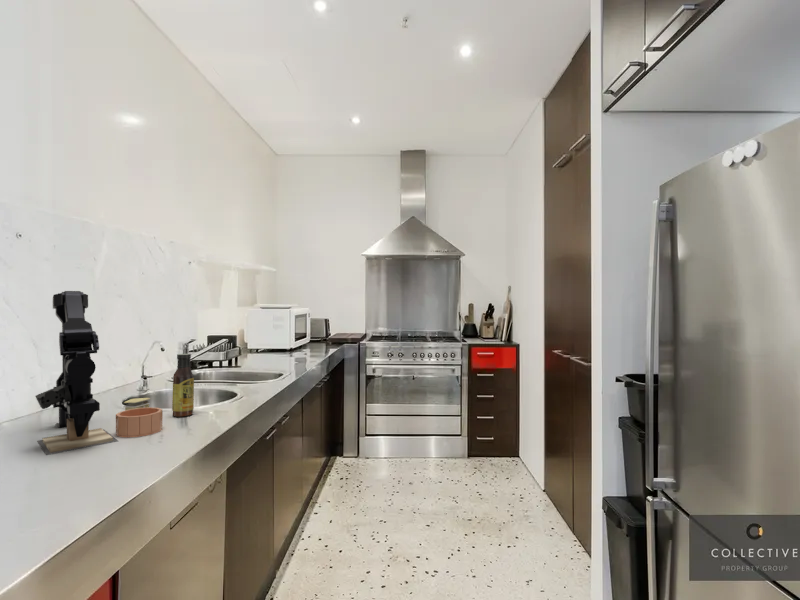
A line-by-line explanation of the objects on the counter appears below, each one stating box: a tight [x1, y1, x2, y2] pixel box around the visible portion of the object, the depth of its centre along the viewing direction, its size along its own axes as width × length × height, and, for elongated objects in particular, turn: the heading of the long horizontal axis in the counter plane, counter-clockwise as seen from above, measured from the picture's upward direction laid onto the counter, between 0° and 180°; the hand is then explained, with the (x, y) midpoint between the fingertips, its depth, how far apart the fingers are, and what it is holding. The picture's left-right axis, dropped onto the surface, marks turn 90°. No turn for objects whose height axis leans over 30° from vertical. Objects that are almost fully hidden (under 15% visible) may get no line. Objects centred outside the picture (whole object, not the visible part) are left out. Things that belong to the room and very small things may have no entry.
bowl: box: [115, 406, 163, 438], centre depth 126 cm, size 11×11×6 cm
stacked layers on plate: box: [123, 397, 151, 411], centre depth 145 cm, size 10×9×6 cm
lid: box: [41, 418, 114, 453], centre depth 117 cm, size 13×13×6 cm
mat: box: [36, 428, 119, 456], centre depth 117 cm, size 16×15×1 cm
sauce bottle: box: [171, 353, 195, 418], centre depth 146 cm, size 6×6×20 cm
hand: (77, 434), depth 117 cm, fingers closed on lid, 4 cm apart
